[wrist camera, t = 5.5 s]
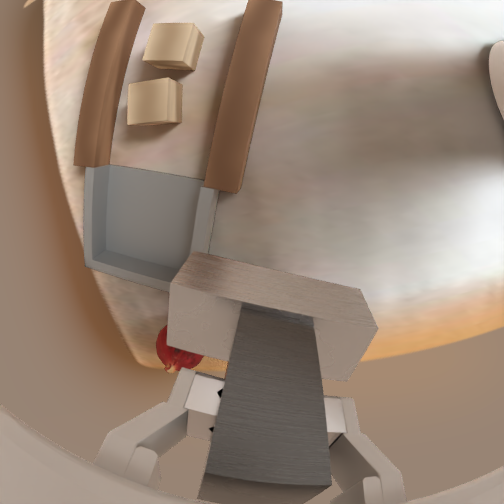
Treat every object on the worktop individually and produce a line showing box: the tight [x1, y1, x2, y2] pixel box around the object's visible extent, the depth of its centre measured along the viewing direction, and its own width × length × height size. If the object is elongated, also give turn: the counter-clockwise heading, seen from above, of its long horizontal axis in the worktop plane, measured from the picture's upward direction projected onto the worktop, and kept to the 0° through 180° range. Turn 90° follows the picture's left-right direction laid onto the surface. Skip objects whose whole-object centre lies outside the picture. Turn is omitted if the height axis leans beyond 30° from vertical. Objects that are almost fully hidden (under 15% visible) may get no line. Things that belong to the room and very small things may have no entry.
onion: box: [156, 324, 204, 373], centre depth 30 cm, size 6×6×8 cm
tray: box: [83, 165, 220, 292], centre depth 28 cm, size 14×12×3 cm
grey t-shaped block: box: [167, 251, 378, 504], centre depth 10 cm, size 9×4×10 cm, turn 78°
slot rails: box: [74, 0, 282, 194], centre depth 22 cm, size 18×19×3 cm
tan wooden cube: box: [143, 23, 204, 71], centre depth 20 cm, size 4×4×4 cm
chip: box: [127, 77, 183, 126], centre depth 22 cm, size 4×4×4 cm
